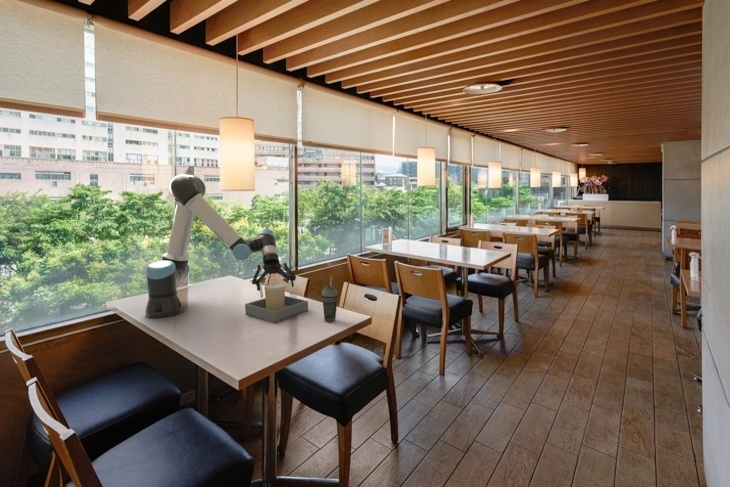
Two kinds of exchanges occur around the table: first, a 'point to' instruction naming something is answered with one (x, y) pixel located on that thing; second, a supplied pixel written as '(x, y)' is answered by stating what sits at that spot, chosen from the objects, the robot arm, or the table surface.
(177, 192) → the robot arm
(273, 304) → the coffee cup
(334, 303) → the beverage cup
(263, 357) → the table surface
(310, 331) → the table surface
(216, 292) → the table surface
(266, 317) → the grey bin
